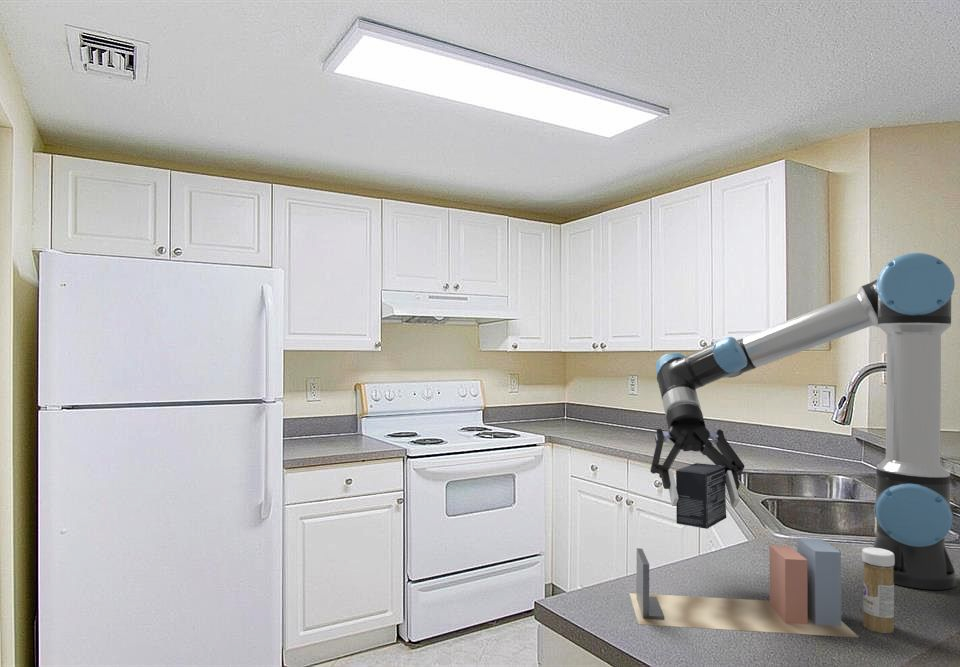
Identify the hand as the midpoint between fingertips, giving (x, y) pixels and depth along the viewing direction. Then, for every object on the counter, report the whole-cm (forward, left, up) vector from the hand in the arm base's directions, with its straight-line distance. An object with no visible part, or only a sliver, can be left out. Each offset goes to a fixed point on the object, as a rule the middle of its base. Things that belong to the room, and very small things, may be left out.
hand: (705, 502), depth 124 cm
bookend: (+12, +12, -16) cm, 23 cm away
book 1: (-11, +11, -16) cm, 22 cm away
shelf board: (-2, +12, -17) cm, 21 cm away
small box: (0, -3, -4) cm, 5 cm away
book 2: (-16, +11, -16) cm, 25 cm away
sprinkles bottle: (-24, +15, -17) cm, 33 cm away
